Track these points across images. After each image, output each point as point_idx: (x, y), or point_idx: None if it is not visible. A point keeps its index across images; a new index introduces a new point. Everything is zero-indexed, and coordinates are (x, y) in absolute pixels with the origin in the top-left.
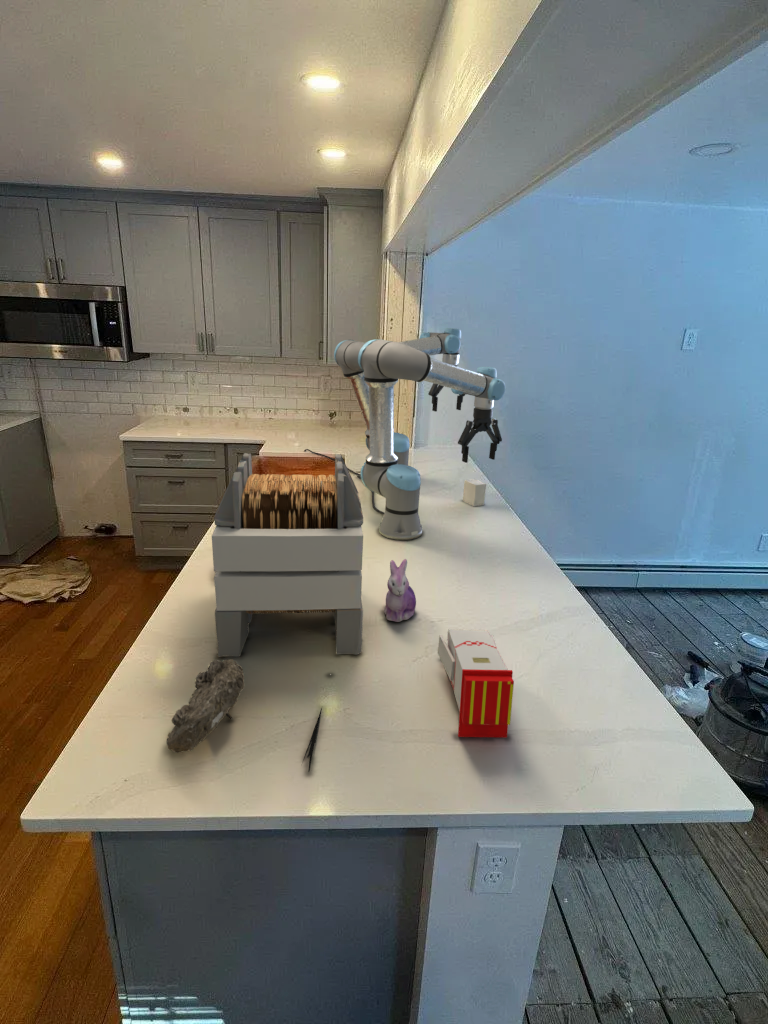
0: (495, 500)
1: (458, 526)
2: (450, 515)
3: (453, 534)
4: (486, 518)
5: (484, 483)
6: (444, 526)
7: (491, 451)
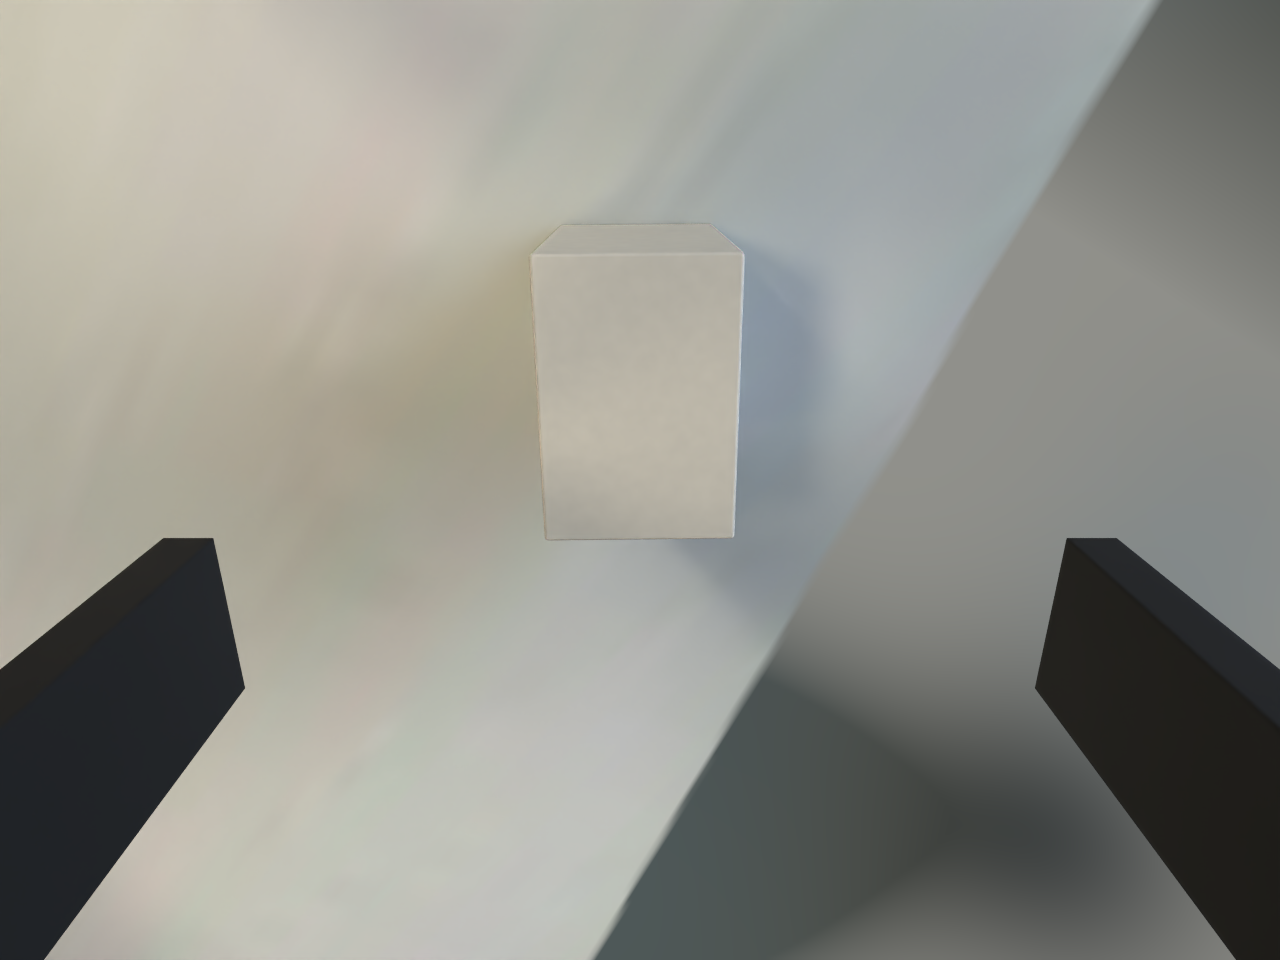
0: (939, 357)
1: None
2: None
3: None
4: (492, 725)
5: (726, 513)
6: None
7: (1169, 736)
